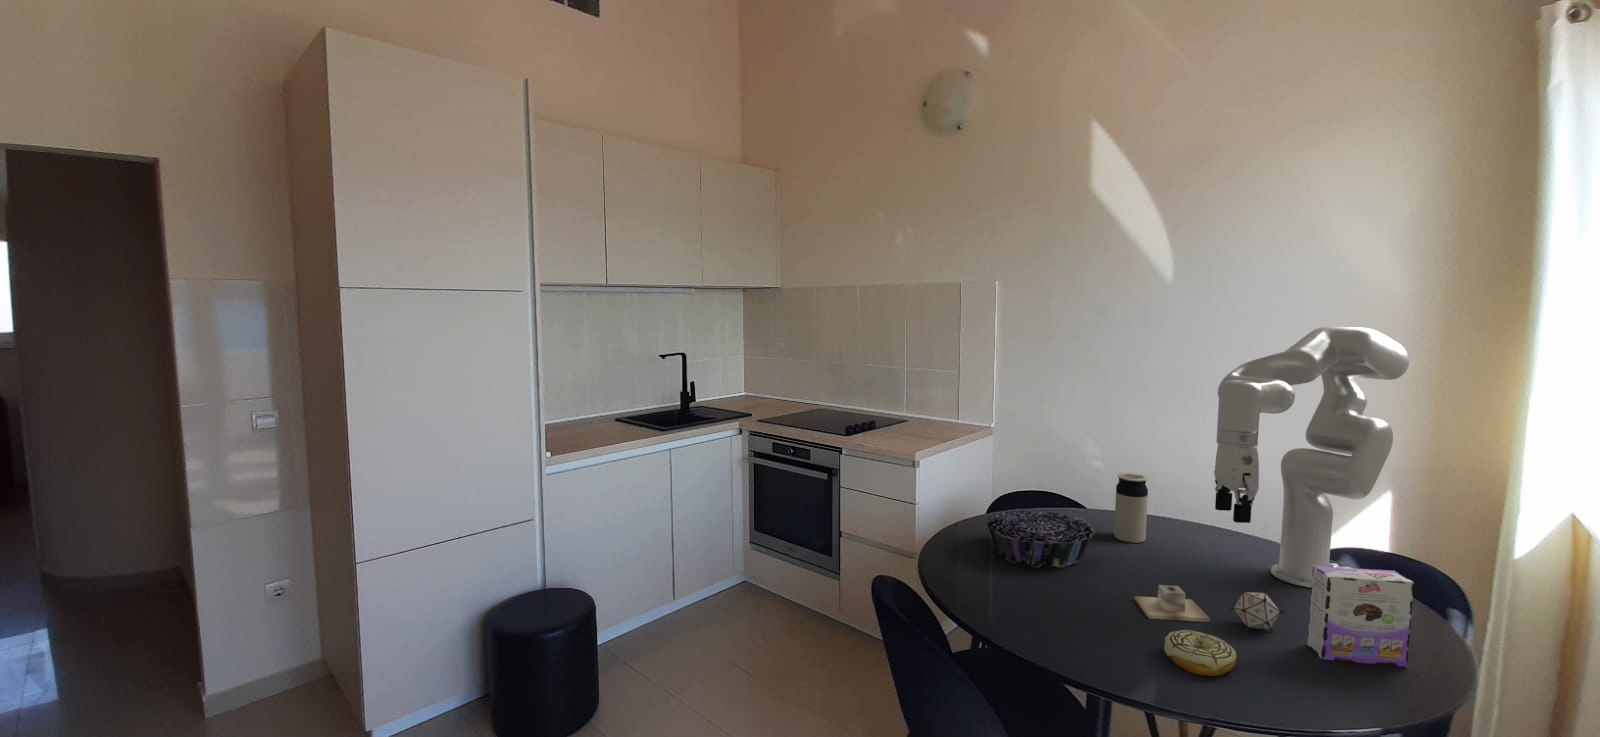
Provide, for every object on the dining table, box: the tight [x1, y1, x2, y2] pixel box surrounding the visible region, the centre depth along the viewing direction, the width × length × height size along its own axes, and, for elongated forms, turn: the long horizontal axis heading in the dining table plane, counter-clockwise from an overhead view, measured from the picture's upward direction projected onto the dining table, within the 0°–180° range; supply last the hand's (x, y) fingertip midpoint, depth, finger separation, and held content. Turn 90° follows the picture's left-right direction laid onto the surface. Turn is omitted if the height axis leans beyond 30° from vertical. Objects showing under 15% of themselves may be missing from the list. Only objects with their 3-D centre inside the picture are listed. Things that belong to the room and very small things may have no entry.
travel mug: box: [1113, 472, 1149, 544], centre depth 187 cm, size 8×8×18 cm
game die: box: [1228, 588, 1287, 633], centre depth 136 cm, size 9×8×10 cm
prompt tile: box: [1133, 584, 1211, 623], centre depth 145 cm, size 12×9×5 cm
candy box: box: [1306, 565, 1415, 668], centre depth 125 cm, size 14×6×16 cm, turn 77°
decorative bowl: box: [985, 509, 1096, 569], centre depth 177 cm, size 26×28×10 cm
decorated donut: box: [1163, 629, 1237, 677], centre depth 124 cm, size 11×12×4 cm
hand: (1232, 515), depth 147 cm, fingers open, 7 cm apart
